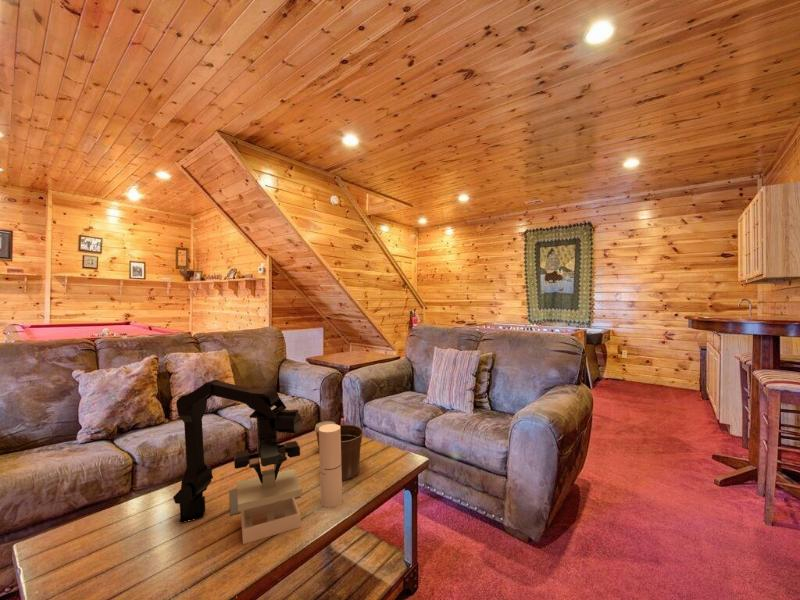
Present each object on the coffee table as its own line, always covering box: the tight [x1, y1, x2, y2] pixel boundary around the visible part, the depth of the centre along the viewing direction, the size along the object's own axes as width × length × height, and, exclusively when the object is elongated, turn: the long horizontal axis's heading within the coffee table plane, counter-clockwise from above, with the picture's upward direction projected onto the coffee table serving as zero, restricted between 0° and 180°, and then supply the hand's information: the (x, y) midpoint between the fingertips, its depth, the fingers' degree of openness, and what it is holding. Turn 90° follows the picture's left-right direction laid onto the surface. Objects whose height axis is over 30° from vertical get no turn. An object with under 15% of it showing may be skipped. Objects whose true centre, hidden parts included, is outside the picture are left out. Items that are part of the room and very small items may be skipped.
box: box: [240, 498, 302, 545], centre depth 112 cm, size 16×12×4 cm
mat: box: [229, 488, 301, 517], centre depth 129 cm, size 22×16×1 cm
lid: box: [236, 468, 303, 511], centre depth 113 cm, size 18×14×6 cm
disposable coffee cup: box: [314, 420, 336, 448], centre depth 161 cm, size 10×10×12 cm
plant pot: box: [338, 424, 364, 482], centre depth 142 cm, size 16×16×16 cm
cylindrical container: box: [318, 423, 343, 508], centre depth 123 cm, size 7×7×25 cm
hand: (268, 481), depth 113 cm, fingers closed on lid, 3 cm apart
